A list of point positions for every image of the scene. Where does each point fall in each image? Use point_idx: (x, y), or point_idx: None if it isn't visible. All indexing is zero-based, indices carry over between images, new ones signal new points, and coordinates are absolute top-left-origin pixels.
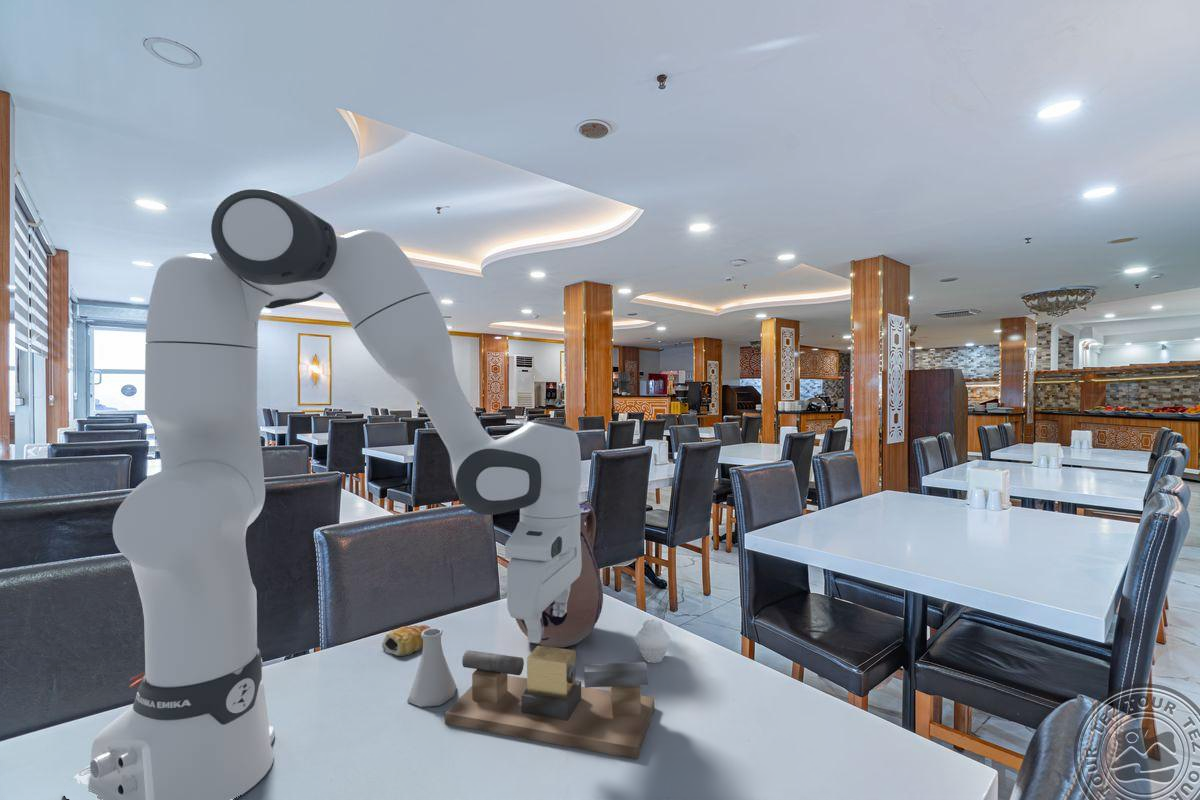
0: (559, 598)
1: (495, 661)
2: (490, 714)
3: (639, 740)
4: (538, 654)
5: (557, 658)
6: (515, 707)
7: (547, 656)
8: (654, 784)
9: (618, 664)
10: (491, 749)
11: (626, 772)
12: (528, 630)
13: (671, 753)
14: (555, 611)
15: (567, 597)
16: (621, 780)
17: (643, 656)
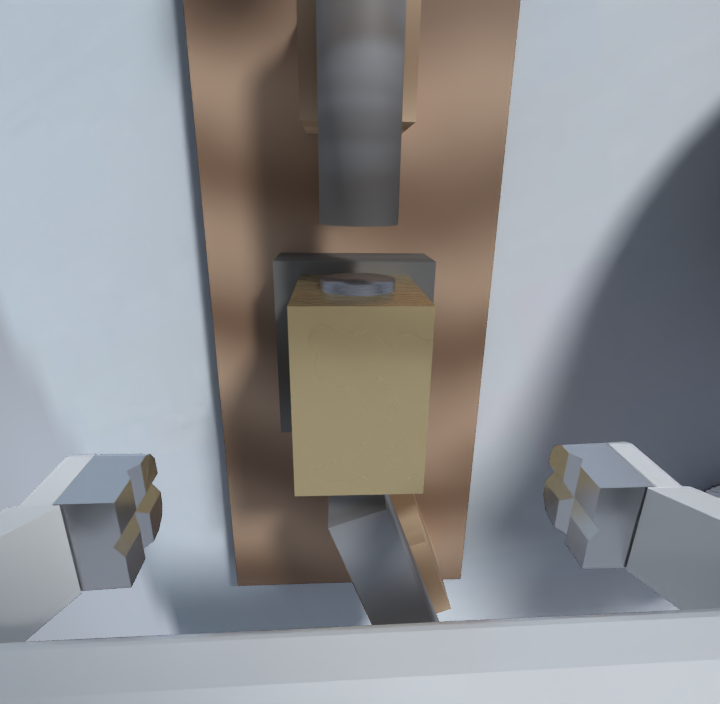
0: (680, 540)
1: (326, 85)
2: (235, 144)
3: (266, 584)
4: (339, 348)
5: (325, 447)
6: (303, 217)
7: (330, 398)
8: (180, 606)
9: (417, 612)
10: (134, 212)
11: (192, 554)
12: (29, 502)
13: (288, 617)
14: (569, 472)
15: (685, 606)
16: (164, 551)
17: (713, 494)
